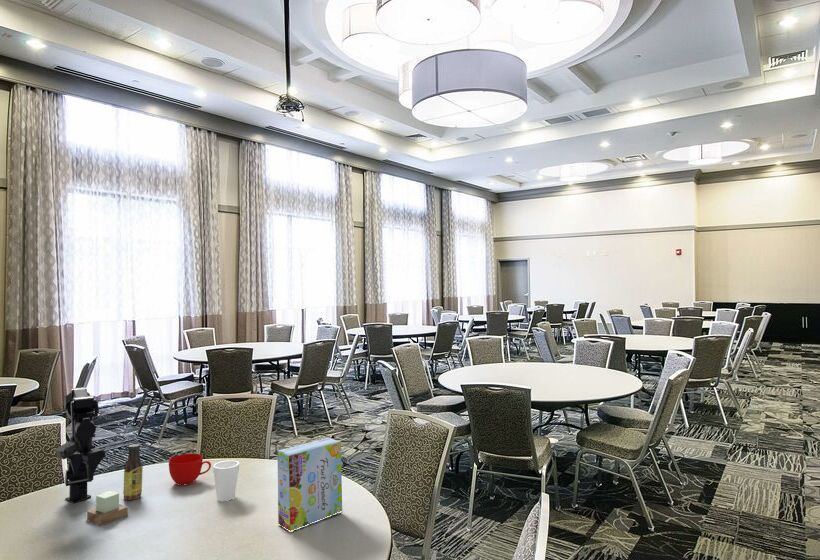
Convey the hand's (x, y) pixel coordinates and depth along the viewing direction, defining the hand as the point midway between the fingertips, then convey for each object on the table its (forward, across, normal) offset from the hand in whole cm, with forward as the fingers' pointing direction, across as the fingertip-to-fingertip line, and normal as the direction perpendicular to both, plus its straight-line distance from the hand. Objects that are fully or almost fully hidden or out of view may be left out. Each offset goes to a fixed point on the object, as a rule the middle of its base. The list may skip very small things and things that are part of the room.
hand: (82, 475), depth 184 cm
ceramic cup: (+13, +9, +38) cm, 41 cm away
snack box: (+13, +75, +36) cm, 84 cm away
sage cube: (+10, +12, +2) cm, 16 cm away
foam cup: (+13, +35, +34) cm, 51 cm away
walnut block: (+14, +12, +2) cm, 18 cm away
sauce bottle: (+13, +3, +17) cm, 22 cm away
